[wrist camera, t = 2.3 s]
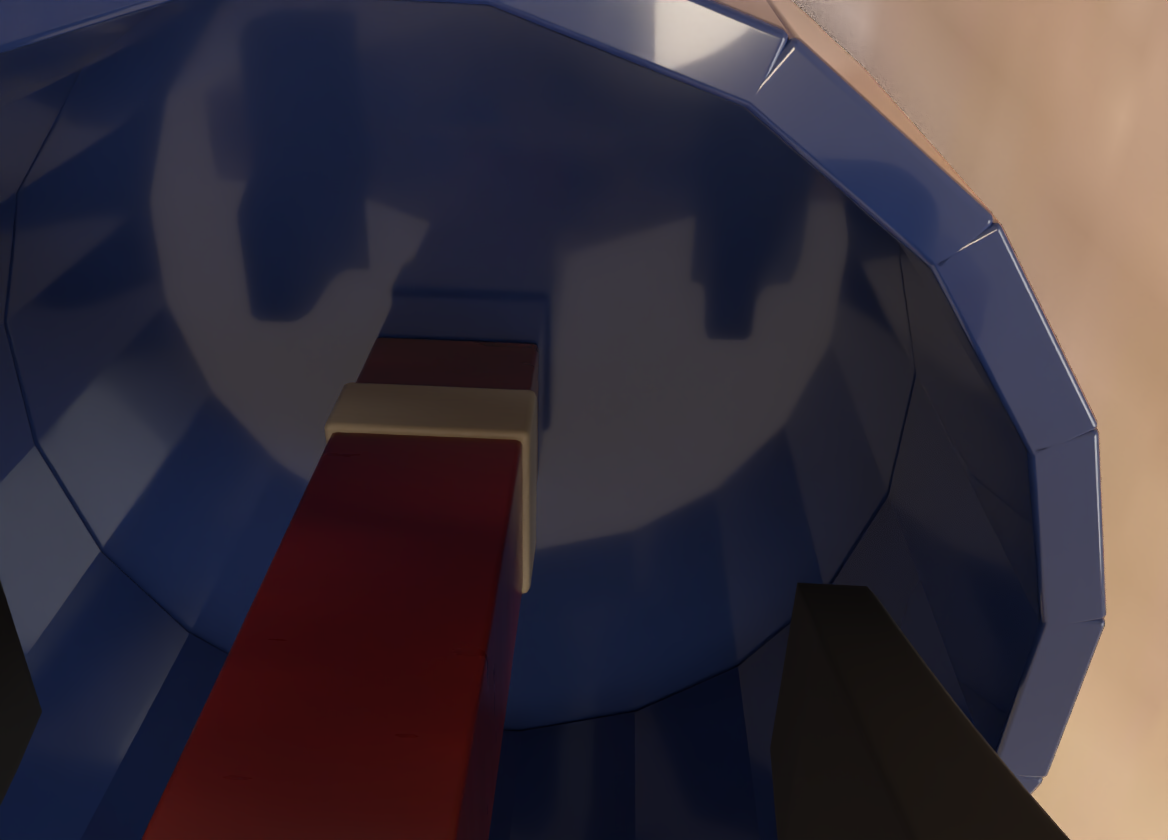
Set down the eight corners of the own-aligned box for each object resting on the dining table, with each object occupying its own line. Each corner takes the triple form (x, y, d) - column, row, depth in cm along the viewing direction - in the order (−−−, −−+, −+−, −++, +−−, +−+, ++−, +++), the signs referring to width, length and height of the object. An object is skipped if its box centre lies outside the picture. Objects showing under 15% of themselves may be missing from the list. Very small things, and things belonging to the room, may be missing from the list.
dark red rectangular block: (380, 477, 14) (140, 1133, 7) (369, 329, 13) (68, 935, 6) (543, 484, 14) (461, 1149, 7) (545, 336, 13) (447, 953, 6)
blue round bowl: (-215, 253, 13) (-642, 482, 9) (604, -435, 10) (584, -638, 5) (393, 818, 18) (316, 1147, 14) (1089, 509, 15) (1294, 824, 10)
